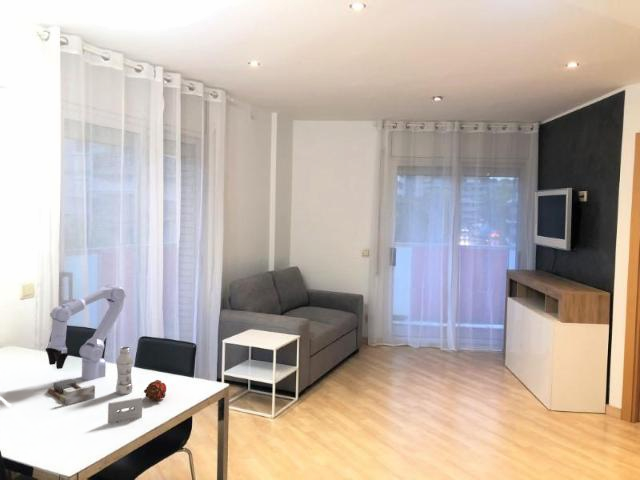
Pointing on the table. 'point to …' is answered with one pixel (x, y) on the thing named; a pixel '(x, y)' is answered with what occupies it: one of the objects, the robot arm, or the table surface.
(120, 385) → the plastic bottle
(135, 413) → the cassette
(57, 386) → the grey rectangular block
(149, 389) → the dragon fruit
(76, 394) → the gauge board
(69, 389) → the cream square block
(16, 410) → the table surface
